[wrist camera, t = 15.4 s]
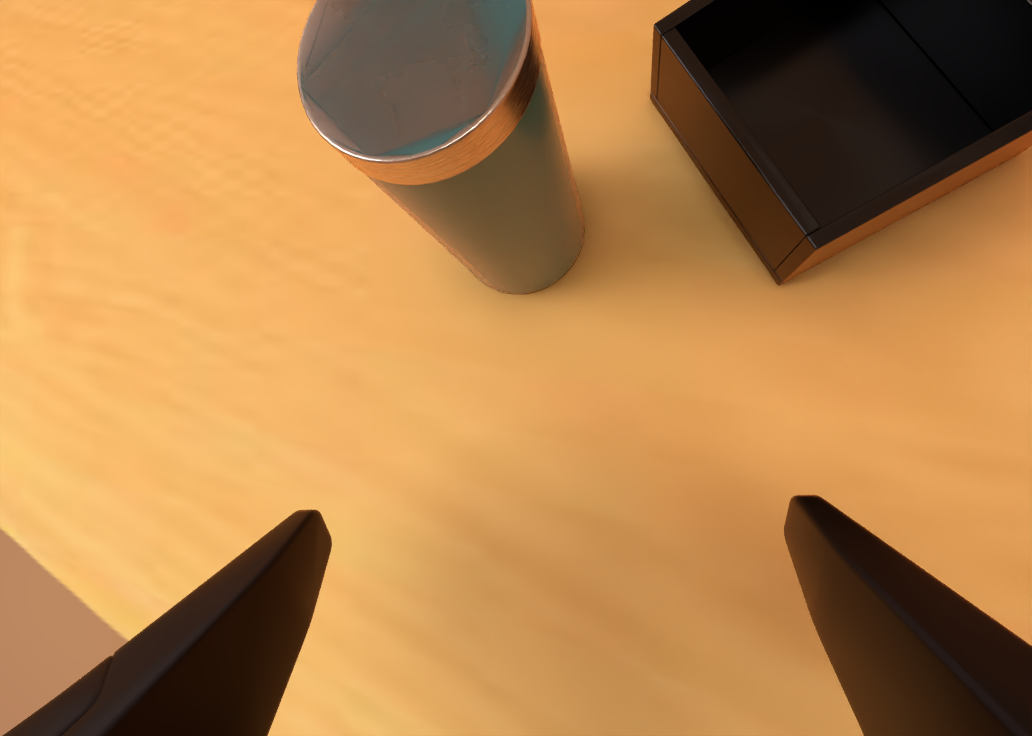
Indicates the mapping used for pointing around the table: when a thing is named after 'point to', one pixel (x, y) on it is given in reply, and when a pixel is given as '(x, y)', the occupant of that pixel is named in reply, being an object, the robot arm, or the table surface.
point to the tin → (450, 126)
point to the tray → (841, 110)
